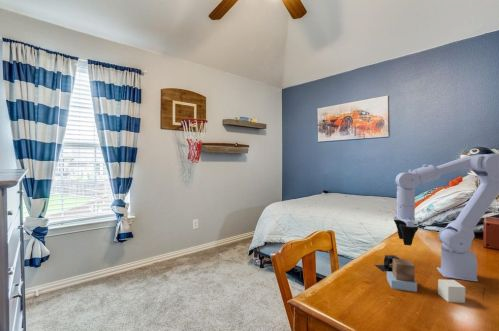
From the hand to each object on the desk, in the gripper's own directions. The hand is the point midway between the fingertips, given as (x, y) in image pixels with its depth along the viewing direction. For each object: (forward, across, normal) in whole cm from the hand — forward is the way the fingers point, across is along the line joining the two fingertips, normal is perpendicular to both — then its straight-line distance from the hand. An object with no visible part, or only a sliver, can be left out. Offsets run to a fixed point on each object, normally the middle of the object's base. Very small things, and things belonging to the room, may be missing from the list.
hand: (404, 241), depth 94 cm
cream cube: (+10, +18, +8) cm, 22 cm away
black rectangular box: (+11, 0, -4) cm, 12 cm away
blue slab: (+11, +14, -4) cm, 18 cm away
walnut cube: (+8, +14, -3) cm, 16 cm away
